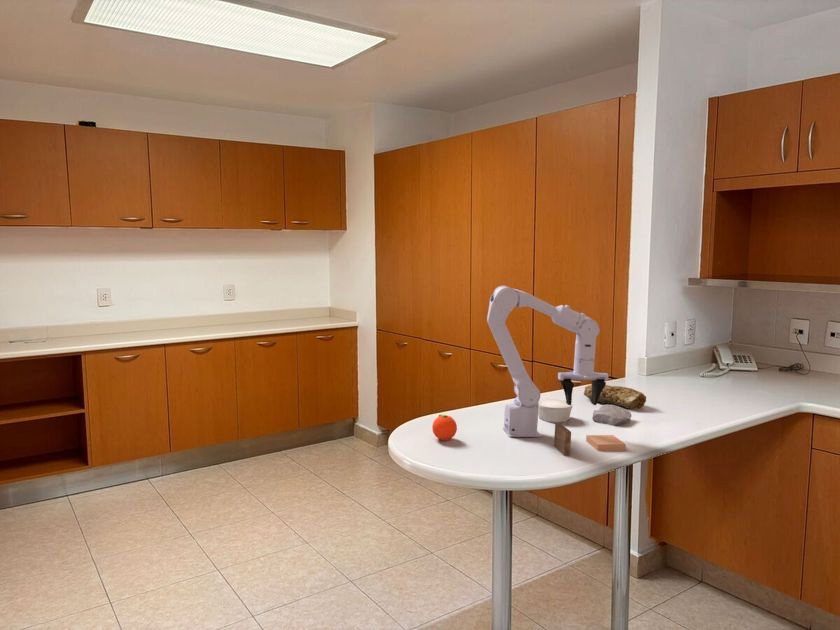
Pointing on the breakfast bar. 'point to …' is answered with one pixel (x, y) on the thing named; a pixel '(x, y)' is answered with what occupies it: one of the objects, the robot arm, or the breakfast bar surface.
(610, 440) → the terracotta tile
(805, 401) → the breakfast bar surface
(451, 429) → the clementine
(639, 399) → the mossy brown rock
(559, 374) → the robot arm
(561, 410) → the ramekin
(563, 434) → the brown wooden block
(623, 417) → the stone block
